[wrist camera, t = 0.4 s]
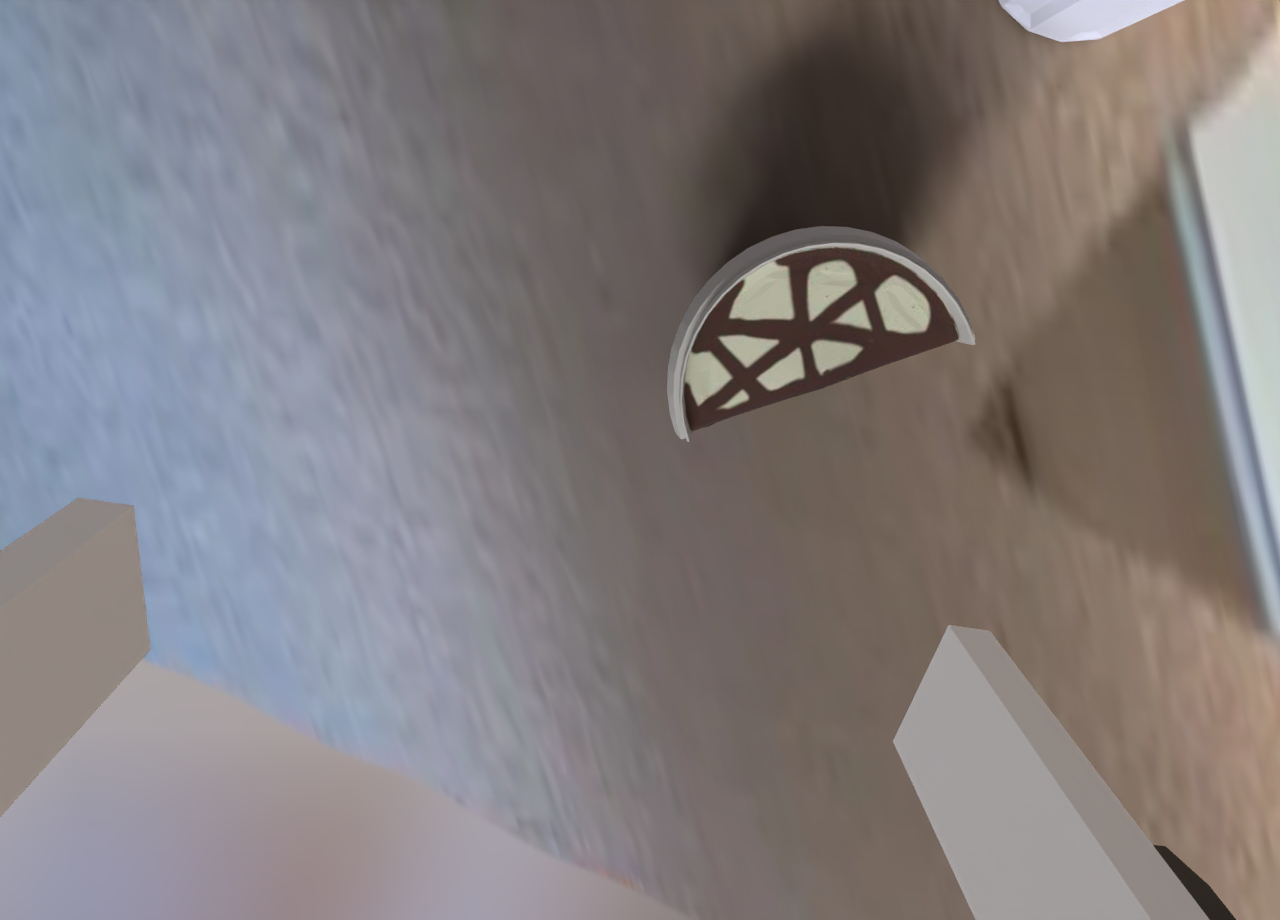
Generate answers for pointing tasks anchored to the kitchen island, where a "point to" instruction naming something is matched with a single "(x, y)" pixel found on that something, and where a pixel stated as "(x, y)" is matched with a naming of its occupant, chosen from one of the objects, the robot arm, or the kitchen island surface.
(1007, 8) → the soap bottle
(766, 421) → the kitchen island surface
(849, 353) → the food container
